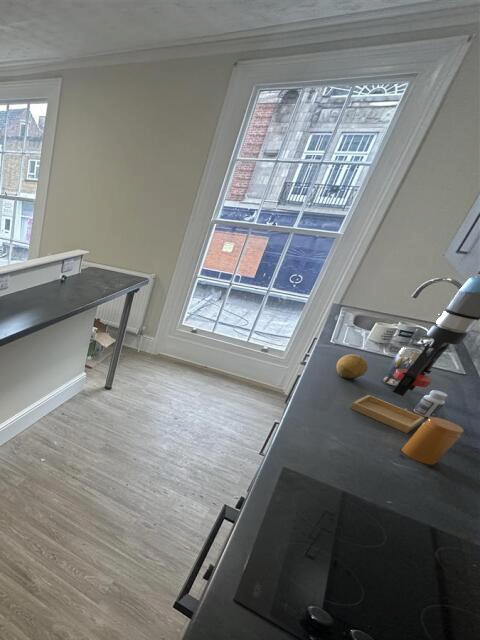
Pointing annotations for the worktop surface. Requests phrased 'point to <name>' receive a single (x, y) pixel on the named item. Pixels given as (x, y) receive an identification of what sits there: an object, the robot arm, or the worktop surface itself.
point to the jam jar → (432, 440)
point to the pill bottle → (431, 404)
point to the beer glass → (401, 363)
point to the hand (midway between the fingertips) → (402, 390)
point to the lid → (420, 381)
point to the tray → (387, 413)
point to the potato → (351, 366)
